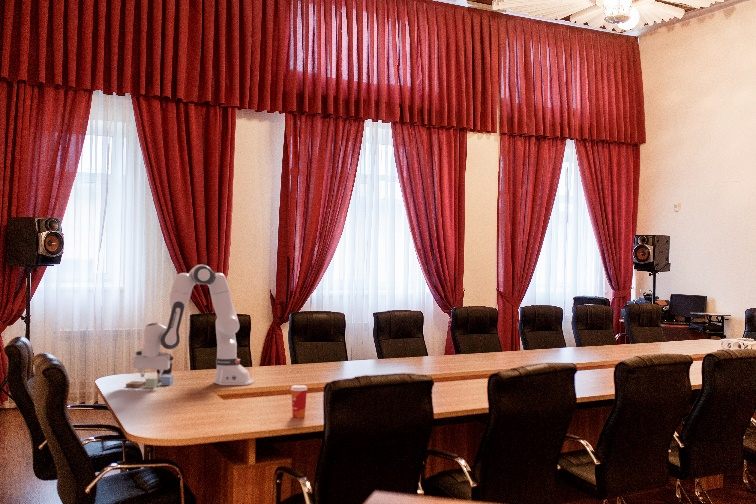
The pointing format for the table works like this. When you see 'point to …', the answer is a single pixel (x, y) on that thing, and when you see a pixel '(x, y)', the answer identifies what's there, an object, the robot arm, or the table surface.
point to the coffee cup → (166, 372)
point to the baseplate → (135, 384)
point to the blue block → (167, 380)
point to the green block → (151, 382)
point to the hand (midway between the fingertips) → (150, 377)
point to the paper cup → (298, 400)
